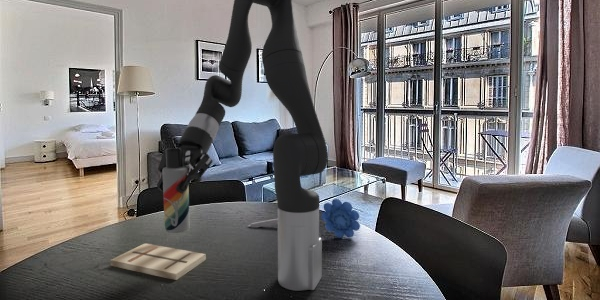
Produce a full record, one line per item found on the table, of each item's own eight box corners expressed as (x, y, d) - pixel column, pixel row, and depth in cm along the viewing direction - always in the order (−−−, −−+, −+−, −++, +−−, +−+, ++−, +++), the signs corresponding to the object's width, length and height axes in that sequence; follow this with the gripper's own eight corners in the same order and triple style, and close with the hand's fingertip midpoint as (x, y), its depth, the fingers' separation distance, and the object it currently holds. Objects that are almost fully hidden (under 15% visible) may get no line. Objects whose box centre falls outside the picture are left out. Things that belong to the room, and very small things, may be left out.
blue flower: (319, 242, 98) (320, 202, 97) (321, 233, 105) (321, 196, 103) (360, 244, 97) (361, 203, 95) (359, 235, 103) (360, 197, 102)
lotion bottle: (163, 234, 79) (159, 149, 76) (166, 225, 84) (162, 146, 81) (189, 232, 80) (186, 149, 78) (190, 223, 86) (187, 145, 83)
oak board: (205, 259, 87) (205, 253, 87) (176, 280, 77) (176, 273, 77) (145, 248, 94) (144, 242, 94) (110, 265, 84) (110, 259, 84)
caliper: (310, 227, 111) (310, 208, 111) (310, 228, 110) (310, 209, 109) (247, 227, 112) (247, 208, 111) (247, 228, 110) (247, 209, 110)
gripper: (170, 124, 88) (136, 179, 79) (216, 126, 83) (186, 184, 74) (184, 142, 94) (154, 195, 85) (229, 144, 89) (202, 201, 80)
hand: (169, 190), depth 79 cm, fingers closed on lotion bottle, 5 cm apart
